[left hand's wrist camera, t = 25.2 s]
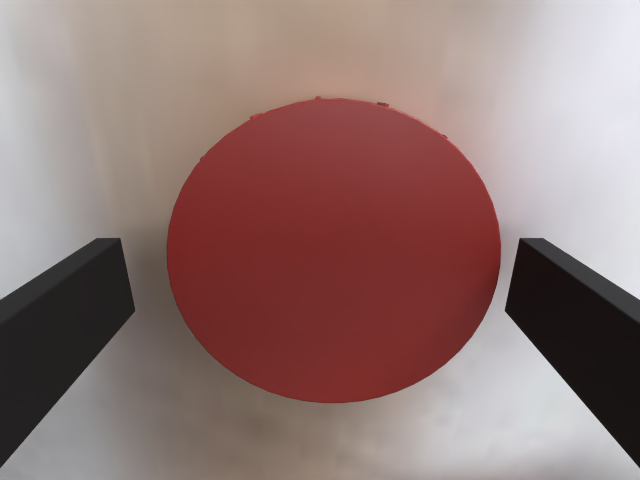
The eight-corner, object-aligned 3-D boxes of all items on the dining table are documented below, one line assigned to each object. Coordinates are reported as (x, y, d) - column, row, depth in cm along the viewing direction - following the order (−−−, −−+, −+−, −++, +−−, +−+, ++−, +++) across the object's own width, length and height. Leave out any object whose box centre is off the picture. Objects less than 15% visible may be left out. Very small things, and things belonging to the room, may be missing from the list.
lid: (320, 402, 17) (320, 448, 15) (130, 237, 15) (95, 263, 12) (529, 259, 15) (566, 289, 12) (345, 20, 12) (349, 2, 9)
